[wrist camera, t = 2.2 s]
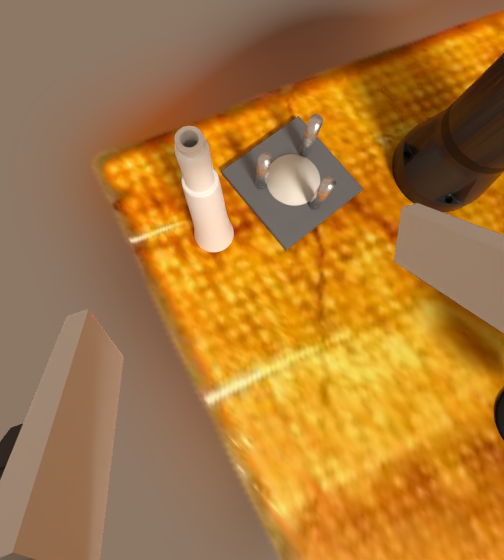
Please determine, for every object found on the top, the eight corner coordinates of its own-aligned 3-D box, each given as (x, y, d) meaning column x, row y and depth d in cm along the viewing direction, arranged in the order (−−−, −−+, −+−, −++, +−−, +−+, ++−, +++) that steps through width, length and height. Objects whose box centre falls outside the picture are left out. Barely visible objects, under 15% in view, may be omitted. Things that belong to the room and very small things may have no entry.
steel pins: (304, 144, 44) (317, 111, 37) (343, 189, 43) (363, 163, 36) (252, 182, 42) (255, 155, 35) (291, 229, 42) (302, 211, 35)
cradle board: (297, 120, 46) (298, 115, 44) (360, 191, 44) (363, 188, 43) (221, 174, 43) (221, 170, 42) (285, 250, 42) (287, 248, 41)
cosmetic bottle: (189, 221, 42) (137, 114, 20) (226, 209, 42) (214, 93, 21) (201, 257, 41) (161, 186, 19) (239, 245, 42) (241, 163, 20)
